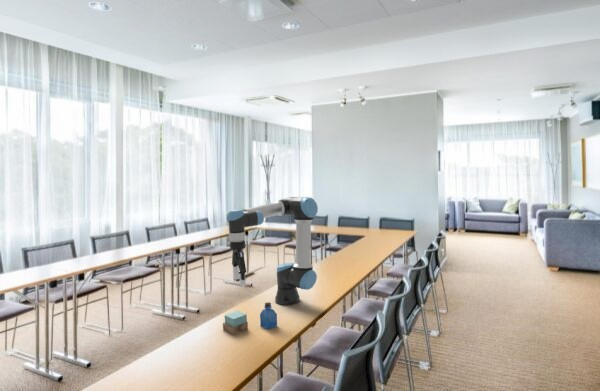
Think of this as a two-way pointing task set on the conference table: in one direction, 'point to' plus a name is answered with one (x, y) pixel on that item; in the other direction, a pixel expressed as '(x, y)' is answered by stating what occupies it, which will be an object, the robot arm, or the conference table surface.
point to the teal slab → (235, 318)
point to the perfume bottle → (268, 317)
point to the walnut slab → (235, 328)
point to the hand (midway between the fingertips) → (239, 282)
